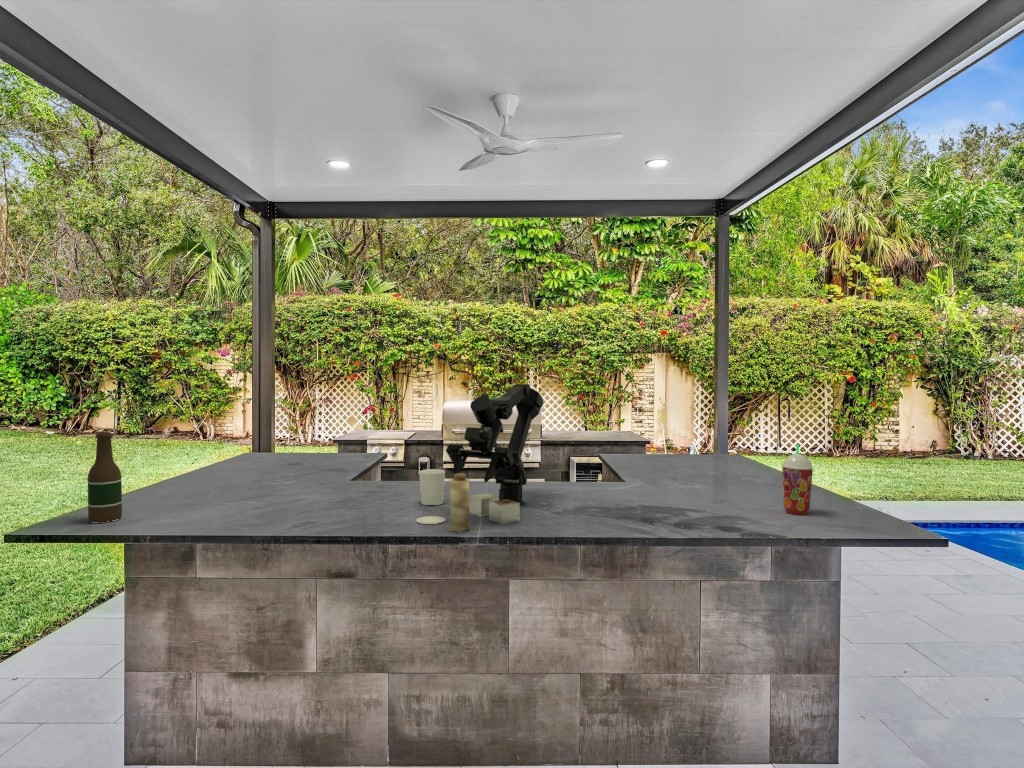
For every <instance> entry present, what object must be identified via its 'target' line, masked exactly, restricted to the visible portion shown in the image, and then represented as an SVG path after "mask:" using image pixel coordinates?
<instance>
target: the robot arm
mask: <svg viewBox="0 0 1024 768" xmlns="http://www.w3.org/2000/svg"><path fill="white" fill-rule="evenodd" d="M543 406H544V398H543V397H542V395H541V393H540V392H539V391H537V390H535V389H534V388H532V387H531V386H530V385H529V384H527V383H516V384H512V387H511V388H510V389H509V390H508V391H506V392H505V393H504V394H503V395H501V396H500V397H492V398H490V396H489V394H488V393H481V394H480V396H479V397H476V398H475V399H473V400H471V402H470V409H471V411H472V414H473V415H474V417H475V419H476V421H477V423H478V424H479V425H480V427H471V426H470V427H469V426H468V427H466V428H465V434H464V438H463V439H464V440H465V441H467V442H468V443H467V444H468V445H467V446H468V447H469V448H470V449H469V448H468V449H467V448H464V446H463V444H461V443H448V445H447V447H446V449H445V451H446V454H447V455H448V457H449V459H450V460H451V462H452V463H453V478H452V479H454V474H455V473H462V471H463V469H464V467H465V466H466V462H467V459H468V458H477V459H480V460H490V463H489V465H488V468H487V469H486V472H485V474H484V478H483V482H484V483H487V482H488V481H490V480H492V478H494V480H495V484H499V489H498V497H499V500H504V499H508V500H512V501H515V502H518V503H520V505H523V504H526V501H524V500H523V486H526V485H527V482H528V475H527V473H526V471H525V469H524V466H525V465H524V462H523V460H522V454H523V452H524V449H525V448H524V447H525V445H526V441H527V438H528V435H529V431H530V428H531V424H532V421H533V420H534V419H535V418H536V417H537V416H539V415H540V413H541V409H542V408H543ZM513 408H515V409H516V411H517V417H516V421H515V423H514V426H513V429H512V432H511V435H510V439H509V442H508V445H507V446H498V443H497V440H498V438H499V436H500V433H501V434H503V433H504V427H503V422H502V421H501V420H505V421H506V420H507V421H508V420H509V419H510V417H511V416H512V415H513V411H514V410H513Z"/></svg>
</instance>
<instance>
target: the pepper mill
mask: <svg viewBox="0 0 1024 768" xmlns="http://www.w3.org/2000/svg"><path fill="white" fill-rule="evenodd" d="M466 475H467V474H466V473H464V472H461V473H455V474H454V478H451V479H450V485H449V486H450V494H449V495H450V497H449V499H450V504H449V505H450V509H449V511H450V512H449V513H450V517H449V519H450V520H449V521H450V527H449V528H450V529H451V530H452V531H451V530H450V531H451V532H454V531H465V532H467V530H468V531H470V519H469V518H470V479H469V478H467V477H466Z"/></svg>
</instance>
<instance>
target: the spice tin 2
mask: <svg viewBox="0 0 1024 768" xmlns="http://www.w3.org/2000/svg"><path fill="white" fill-rule="evenodd" d="M520 505H521V504H520V503H518V502H515V501H512V500H508V499H504V500H498V501H491V502H489V516H488V520H489V519H490V520H489V521H491V520H492V521H491V522H494V521H495V523H497V522H498V523H497V524H500V523H501V524H500V525H504V524H503V523H506V524H510V523H509V522H511V523H516V522H515V521H517V522H520V519H521V518H520V517H521V516H520V514H521V513H520V512H521V511H520V509H521V507H520Z"/></svg>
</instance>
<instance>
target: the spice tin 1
mask: <svg viewBox="0 0 1024 768" xmlns="http://www.w3.org/2000/svg"><path fill="white" fill-rule="evenodd" d="M498 500H499V495H494V494H491V493H488V492H486V493H485V492H484V493H480V494H478V493H477V494H471V495H469V514H471V515H472V514H473V515H474V516H478V517H480V516H481V518H483V517H487V516H488V517H489V502H491V501H498ZM482 516H483V517H482Z"/></svg>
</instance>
